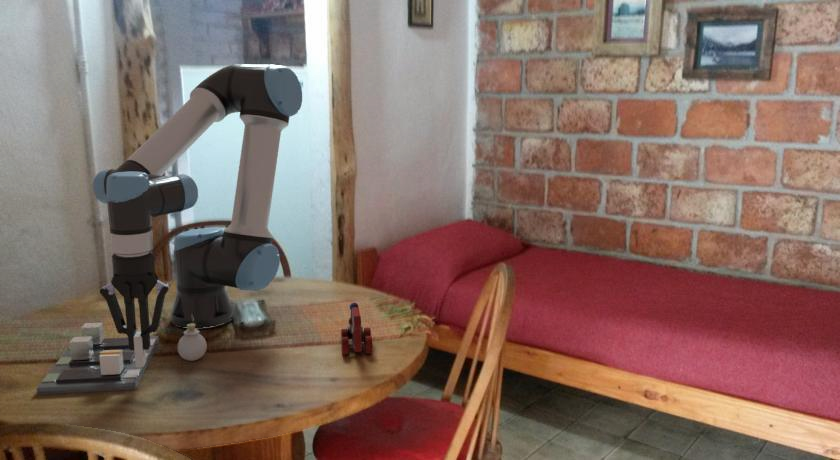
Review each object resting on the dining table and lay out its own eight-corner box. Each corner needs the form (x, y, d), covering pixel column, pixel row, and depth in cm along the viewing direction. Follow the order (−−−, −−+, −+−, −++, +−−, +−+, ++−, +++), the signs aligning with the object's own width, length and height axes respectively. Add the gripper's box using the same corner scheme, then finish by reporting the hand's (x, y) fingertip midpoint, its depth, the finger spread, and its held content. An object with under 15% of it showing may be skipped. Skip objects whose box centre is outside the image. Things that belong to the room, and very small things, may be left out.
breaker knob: (123, 368, 138) (122, 348, 137) (120, 374, 135) (118, 354, 134) (104, 368, 137) (103, 349, 136) (101, 375, 135) (99, 354, 134)
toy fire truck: (369, 338, 163) (369, 297, 160) (373, 359, 151) (373, 315, 148) (340, 339, 162) (340, 297, 159) (341, 360, 150) (341, 316, 147)
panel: (159, 342, 157) (157, 316, 155) (135, 389, 134) (133, 360, 133) (75, 345, 154) (73, 319, 152) (37, 394, 131) (33, 364, 129)
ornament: (176, 366, 145) (173, 322, 143) (181, 351, 152) (179, 309, 150) (205, 364, 146) (203, 321, 144) (209, 350, 153) (207, 308, 151)
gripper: (171, 246, 136) (177, 354, 142) (102, 247, 134) (111, 358, 139) (164, 256, 129) (171, 370, 135) (91, 257, 127) (101, 374, 132)
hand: (141, 364), depth 137 cm, fingers closed
